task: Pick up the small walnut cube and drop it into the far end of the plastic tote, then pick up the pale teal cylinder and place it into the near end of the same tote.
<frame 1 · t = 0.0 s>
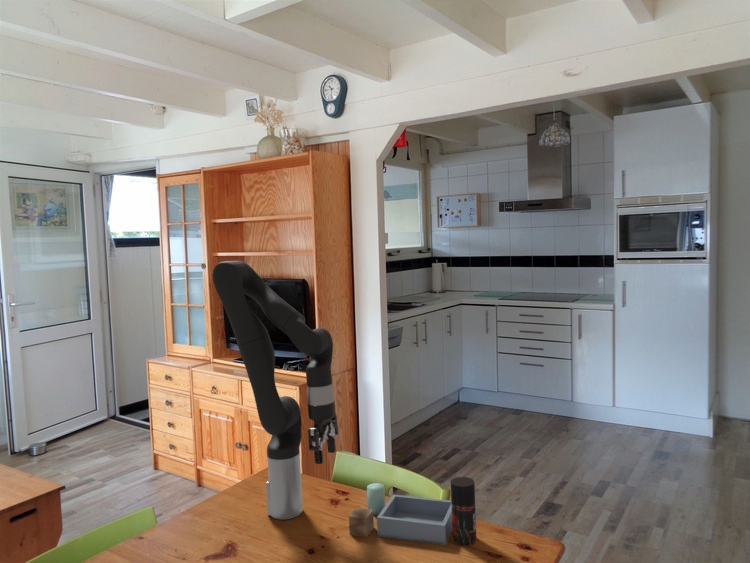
hand: (325, 457, 154), 17 cm above the table, tool pointing down, fingers open, 8 cm apart
teal cylinder: (376, 510, 158), on the table
deodorant: (464, 540, 140), on the table
walnut cube: (361, 531, 147), on the table
tote: (418, 527, 147), on the table
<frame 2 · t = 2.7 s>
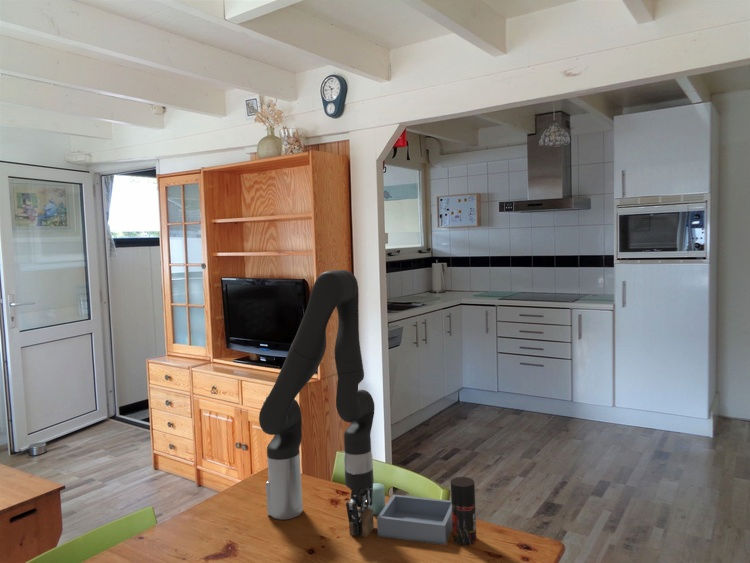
hand: (361, 529, 147), 0 cm above the table, tool pointing down, fingers closed on walnut cube, 5 cm apart
walnut cube: (361, 531, 147), on the table, touching gripper
everything else where it was.
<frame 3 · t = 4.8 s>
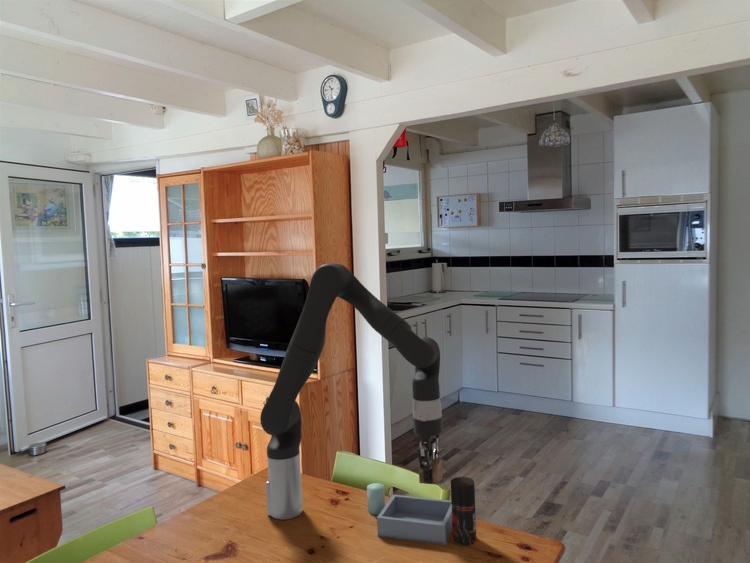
hand: (430, 478, 145), 14 cm above the table, tool pointing down, fingers closed on walnut cube, 5 cm apart
walnut cube: (431, 480, 145), point 13 cm above the table, touching gripper
everything else where it was.
when the fingers open (4 cm above the table, at t = 7.1 s): walnut cube drops 3 cm, resting on tote.
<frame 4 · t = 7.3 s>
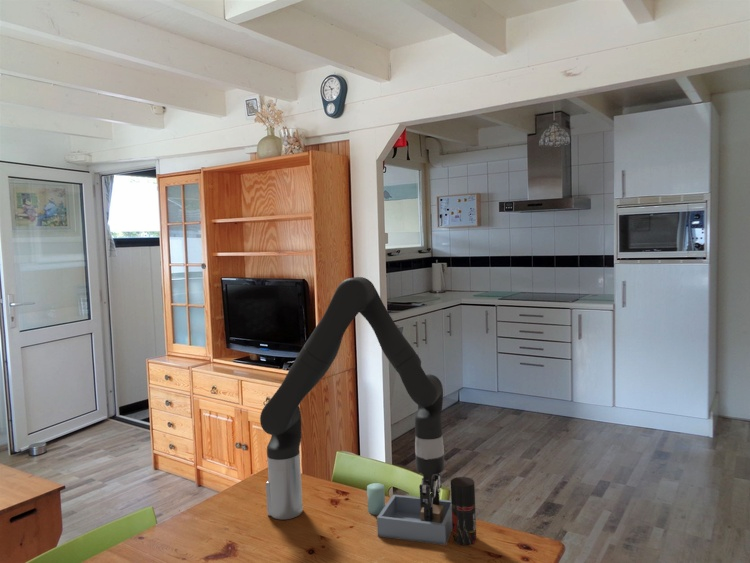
hand: (432, 513, 146), 4 cm above the table, tool pointing down, fingers open, 7 cm apart
walnut cube: (432, 527, 146), point 1 cm above the table, touching tote
everything else where it was.
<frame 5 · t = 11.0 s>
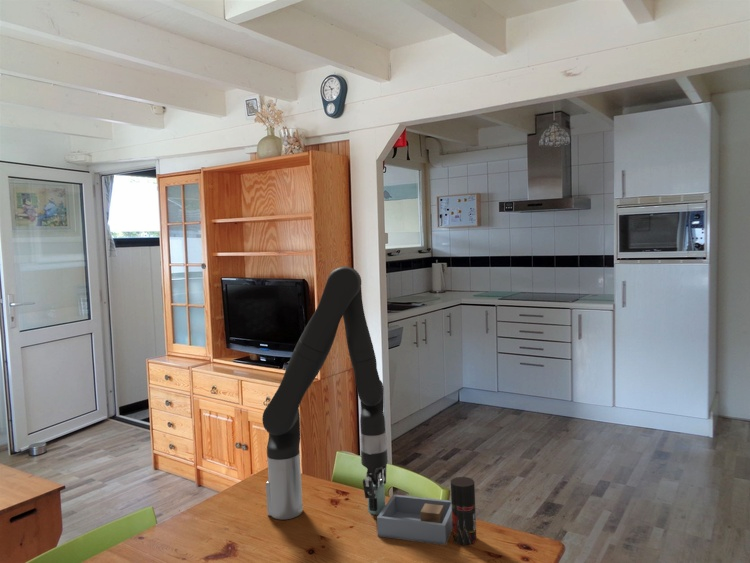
hand: (376, 505, 158), 1 cm above the table, tool pointing down, fingers closed on teal cylinder, 5 cm apart
teal cylinder: (376, 510, 158), on the table, touching gripper
everything else where it was.
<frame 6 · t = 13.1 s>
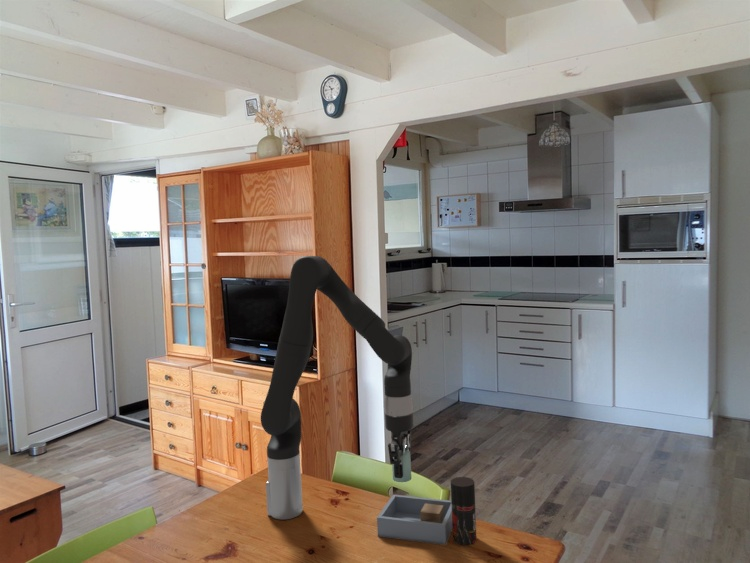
hand: (401, 473, 148), 14 cm above the table, tool pointing down, fingers closed on teal cylinder, 5 cm apart
teal cylinder: (402, 478, 148), point 13 cm above the table, touching gripper
everything else where it was.
when the fingers open (4 cm above the table, at t = 15.3 s): teal cylinder drops 2 cm, resting on tote.
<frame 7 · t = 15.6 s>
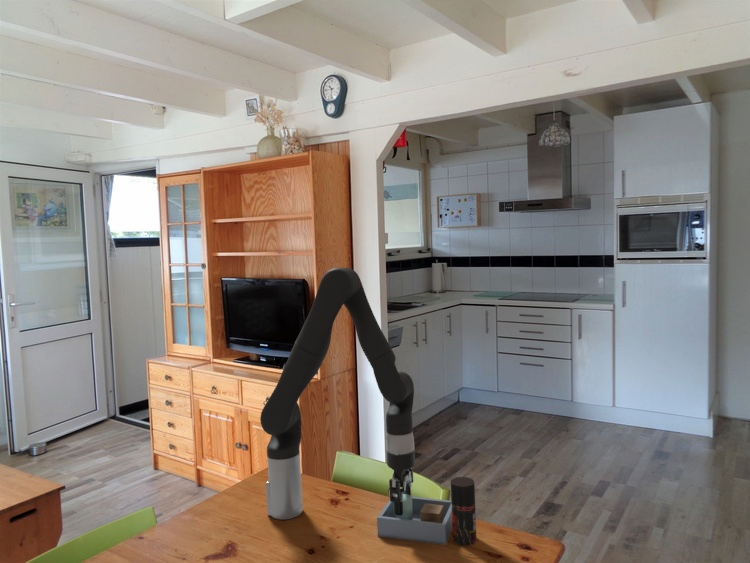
hand: (403, 507, 148), 5 cm above the table, tool pointing down, fingers open, 7 cm apart
teal cylinder: (403, 523, 149), point 1 cm above the table, touching tote
everything else where it was.
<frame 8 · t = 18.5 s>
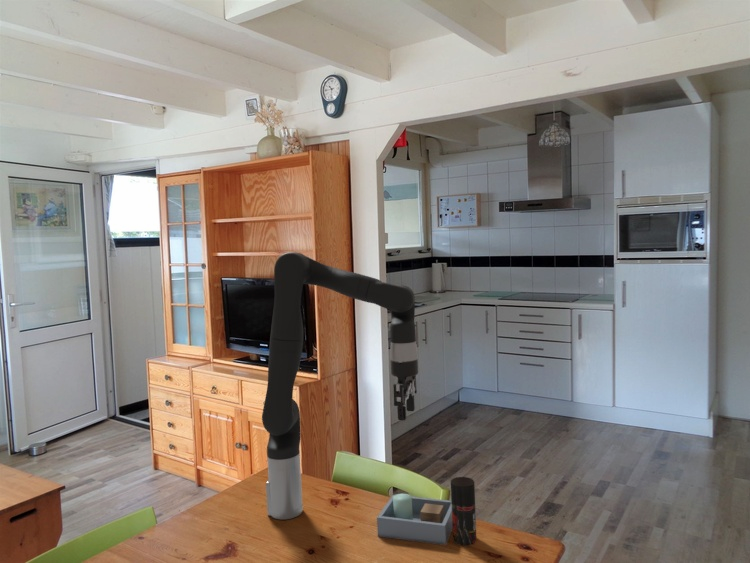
hand: (406, 415, 154), 28 cm above the table, tool pointing down, fingers open, 8 cm apart
nothing on the table moved.
at the end: walnut cube inside the target area on the tote (4.0 cm from its centre), point 0.6 cm above the tote's base; teal cylinder inside the target area on the tote (4.0 cm from its centre), point 0.7 cm above the tote's base; the gripper is holding nothing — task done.
